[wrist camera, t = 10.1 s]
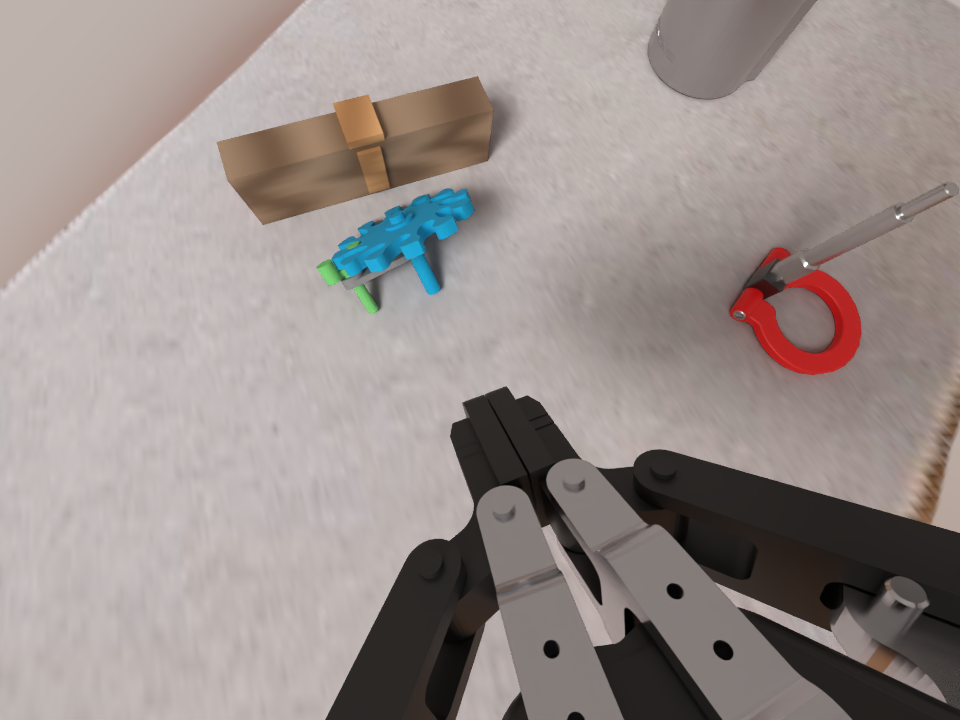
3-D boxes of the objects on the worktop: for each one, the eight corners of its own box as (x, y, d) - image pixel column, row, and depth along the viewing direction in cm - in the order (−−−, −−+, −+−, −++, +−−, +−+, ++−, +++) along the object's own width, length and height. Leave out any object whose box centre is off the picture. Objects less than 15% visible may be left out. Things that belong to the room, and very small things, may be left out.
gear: (447, 171, 31) (486, 192, 23) (476, 242, 34) (519, 283, 26) (315, 237, 31) (306, 283, 23) (357, 302, 34) (363, 363, 26)
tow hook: (864, 316, 33) (769, 244, 33) (1129, 236, 20) (970, 123, 21) (817, 398, 31) (717, 320, 32) (1075, 366, 18) (902, 237, 19)
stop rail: (473, 130, 34) (477, 67, 29) (488, 163, 33) (495, 106, 28) (252, 190, 32) (211, 133, 26) (264, 228, 31) (223, 178, 25)
